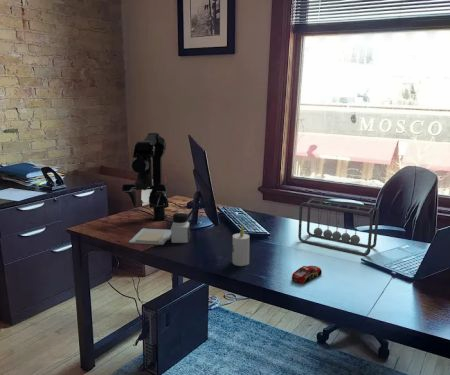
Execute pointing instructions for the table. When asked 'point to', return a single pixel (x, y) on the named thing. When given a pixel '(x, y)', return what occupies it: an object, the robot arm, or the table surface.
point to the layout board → (151, 236)
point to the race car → (306, 274)
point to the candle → (241, 248)
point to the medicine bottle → (180, 228)
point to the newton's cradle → (336, 234)
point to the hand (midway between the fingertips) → (145, 207)
